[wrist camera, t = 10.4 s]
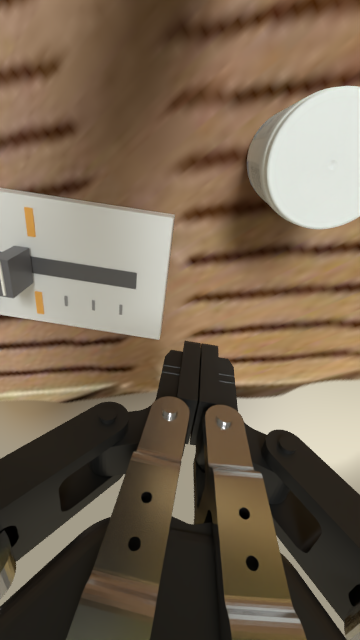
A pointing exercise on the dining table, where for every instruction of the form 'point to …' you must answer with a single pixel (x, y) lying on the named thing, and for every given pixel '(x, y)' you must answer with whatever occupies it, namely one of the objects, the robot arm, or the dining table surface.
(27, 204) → the console board
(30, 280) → the fader tab
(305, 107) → the supplement tub
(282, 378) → the dining table surface
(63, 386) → the dining table surface
